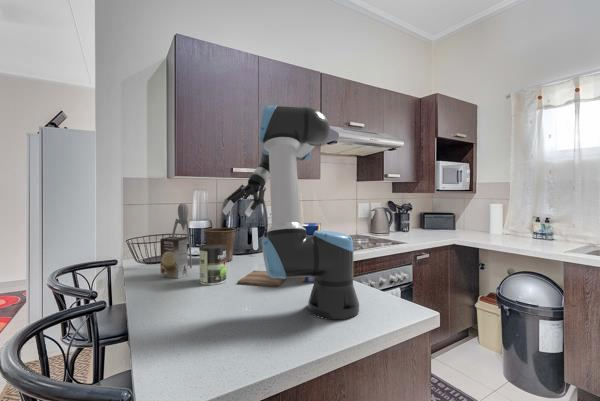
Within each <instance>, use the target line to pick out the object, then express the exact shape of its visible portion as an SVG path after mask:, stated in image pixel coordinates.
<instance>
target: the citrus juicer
mask: <svg viewBox="0 0 600 401" xmlns="http://www.w3.org/2000/svg"><path fill="white" fill-rule="evenodd" d="M189 211H190V210H189V205H188V204H187V203H185V202H184V203H183V202H182V203H180V204H178V207H177V216H178V218H175V220H174V225H173V229H172V234H171V237H175V234H176V230H177V227H178V224H180V225H181V228H182V230H183V232H184V230H185V228H186V231H187V242H188V249H189V268H190V269H192V268H193V263H192V262H193V261H192V260H193V259H192V244H191V235H190V234H191V233H190V227H189Z"/></svg>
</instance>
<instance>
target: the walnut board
mask: <svg viewBox="0 0 600 401" xmlns="http://www.w3.org/2000/svg"><path fill="white" fill-rule="evenodd" d="M285 280H286V279H283V278H271V277H270V276H269V275H268V274H267V271H266V270H265V271H264V270H252V271H251V272H250V273H248V274H246V275H245V276H243V277H242V278H240V279H239V280H238V281H237V285H247V286H248V285H249V286H260V287H272V288H278V287H279V286H280V285H281V284H282V283H283V282H284V281H285Z"/></svg>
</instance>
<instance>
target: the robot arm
mask: <svg viewBox="0 0 600 401" xmlns="http://www.w3.org/2000/svg"><path fill="white" fill-rule="evenodd" d="M330 132H331V126H330V123H329V120H328V119H327V117H326V115H324V114H323V113H322V112H321V111H319V110H318V109H316V108H313V107H308V106H306V107H305V106H289V105H288V106H287V105H286V106H285V105H284V106H283V105H278V104H276V105H265V106H264V107H263V108H262V113H261V119H260V128H259V136H258V138H259V139H258V142H260V143H261V144H262V145H261V155H260V156H261V158H260V162H259V164H258V165H257V167H256V168H255V170H254V171H253V172H252V173H251V175H250V177H249V178H248V180H247V185H244V184H241V185H240V186H239V187H238V188H237V189H236V190H235V191H233V192H232V193H231V194H230V195H229V196H228V197H226V200H227V203H226V204H225V206H224V208H223V209H222V211H221V212H222V213H223V214H224V215H225V216H227V215H228V213H230V211H231V209H232V208H233V207H234V205H235V203H236V202H238V201H239V200H240V199H242V198H244V197H248V196H252V198H253V200H252V201H251V202H250V203H249V205H248V207H247V208H246V210H245V211H244V214H245V215H246V217H248V218H250V217H251V214H252V213H253V211H254V210H256V208H257V207H258V206H259V205H260V204H261V205H262V204H264V201H265V200H264V197H265V192H266V190H267V188H266V187H265V186H266V183H267V182H268V181H269V188H270V189H269V190H270V191H269V193H270V210H271V211H270V213H271V214H270V215H271V226H270V227H269V229H268V230H267V231H266V236H265V237H263V238H261V246H262V255H263V261H264V266H265V271H267V274H268V275H269V276H270V277H271V278H283V279H285V280H286V279H296V278H301V277H311V276H314V282H313V284H312V285H313V286H312V289H311V291H310V294H309V298H308V301H307V305H308V307H307V308H308V309H309V310H308V311H310V312H311V313H310V312H309V313H310V314H311V315H313V314H314V315H313V316H315V315H316V316H315V317H317V316H319V317H318V318H321V317H323V318H322V319H325V318H327V319H326V320H335V319H338V320H346V318H347V319H351V318H353V316H354V317H356V316H357V315H358V314H359V313H360V302H359V299H358V295H357V292H356V289H355V286H354V252H355V249H354V240H353V238H352V236H350V235H349V234H346V233H341V232H337V231H330V230H321V231H315V232H314V234H313V235H314V236H307V235H306V229H305V228H304V227H303V226H302V225H303V224H301V212H300V211H301V210H300V196H299V195H300V193H299V179H298V163H297V161H301V162H302V161H309V159H310V158H311V154H312V150H313V149H314V148H315V147H318V146H320V145H322V144H324V142H326V141H327V139H328V138H329V135H330ZM358 312H359V313H358ZM355 315H356V316H355ZM350 317H351V318H350Z"/></svg>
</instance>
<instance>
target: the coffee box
mask: <svg viewBox="0 0 600 401" xmlns="http://www.w3.org/2000/svg"><path fill="white" fill-rule="evenodd" d="M159 240H160V243H159V244H160V277H161V278H169V279H181V278H184V277H186V276H188V237H180V236H174V237H172V236H168V237H163V238H160V239H159Z"/></svg>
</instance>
